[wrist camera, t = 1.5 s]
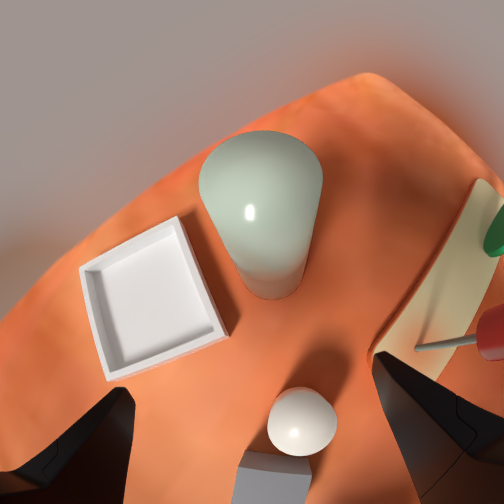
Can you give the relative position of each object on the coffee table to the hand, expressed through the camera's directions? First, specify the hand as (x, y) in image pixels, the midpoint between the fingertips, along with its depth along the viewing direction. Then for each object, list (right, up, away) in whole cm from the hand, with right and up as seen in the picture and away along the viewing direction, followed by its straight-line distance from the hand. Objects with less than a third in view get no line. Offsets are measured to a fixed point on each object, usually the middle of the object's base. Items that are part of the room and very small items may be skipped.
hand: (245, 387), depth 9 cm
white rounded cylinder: (+4, -8, +10) cm, 14 cm away
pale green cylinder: (+2, +3, +15) cm, 15 cm away
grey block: (+2, -14, +9) cm, 16 cm away
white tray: (-9, 0, +15) cm, 17 cm away
